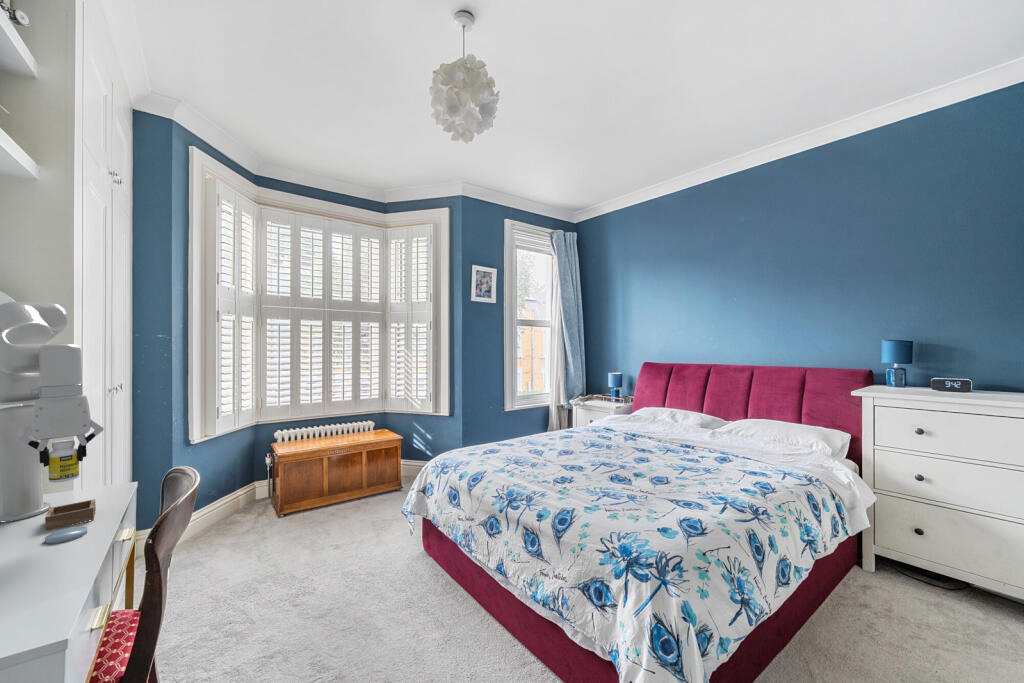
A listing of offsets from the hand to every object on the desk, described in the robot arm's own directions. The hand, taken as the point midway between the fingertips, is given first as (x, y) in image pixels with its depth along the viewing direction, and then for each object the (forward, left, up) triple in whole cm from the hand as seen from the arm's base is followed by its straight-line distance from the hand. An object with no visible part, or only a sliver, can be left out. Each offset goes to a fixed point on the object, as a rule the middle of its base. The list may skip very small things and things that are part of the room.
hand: (64, 462), depth 109 cm
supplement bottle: (0, 0, -5) cm, 5 cm away
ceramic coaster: (0, 0, -19) cm, 19 cm away
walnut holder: (-7, +12, -19) cm, 24 cm away
